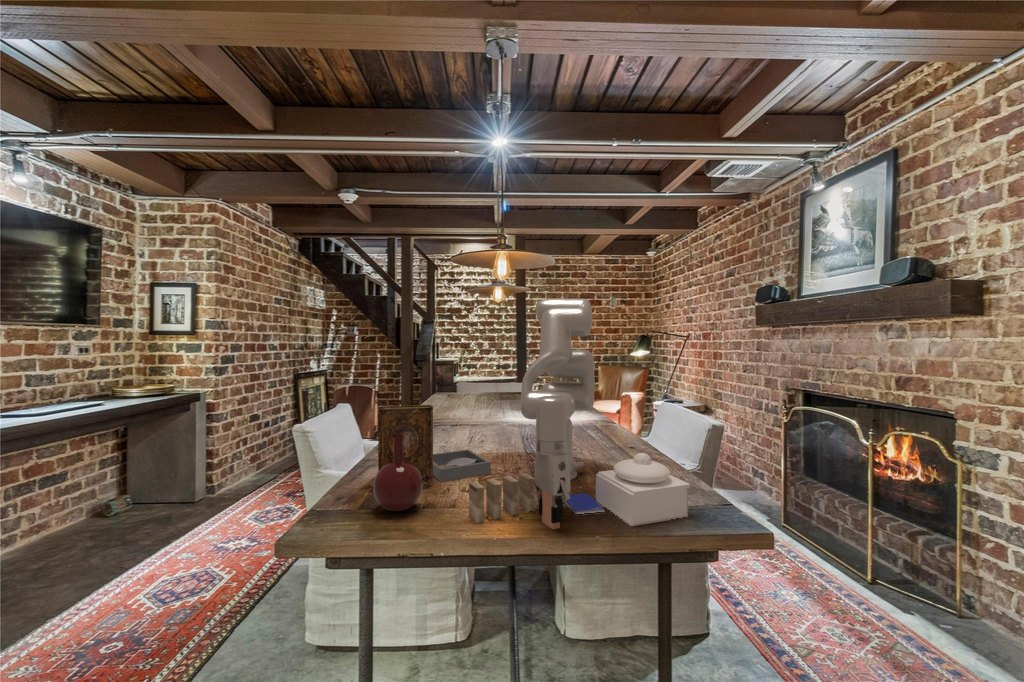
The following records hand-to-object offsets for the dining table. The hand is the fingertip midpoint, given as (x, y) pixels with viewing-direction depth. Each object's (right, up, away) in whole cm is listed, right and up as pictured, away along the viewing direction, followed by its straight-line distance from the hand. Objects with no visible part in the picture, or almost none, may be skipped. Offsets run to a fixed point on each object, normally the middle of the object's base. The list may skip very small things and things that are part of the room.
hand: (550, 517), depth 116 cm
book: (-43, -2, +28) cm, 51 cm away
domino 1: (-19, -2, +3) cm, 19 cm away
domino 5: (0, -2, 0) cm, 2 cm away
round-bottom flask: (-41, -2, +10) cm, 42 cm away
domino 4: (-6, -2, +11) cm, 12 cm away
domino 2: (-14, -2, +6) cm, 16 cm away
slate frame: (-29, -1, +46) cm, 54 cm away
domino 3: (-10, -2, +8) cm, 13 cm away
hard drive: (+10, -2, +13) cm, 17 cm away
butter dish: (+26, -2, +10) cm, 28 cm away
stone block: (-28, -1, +45) cm, 53 cm away
